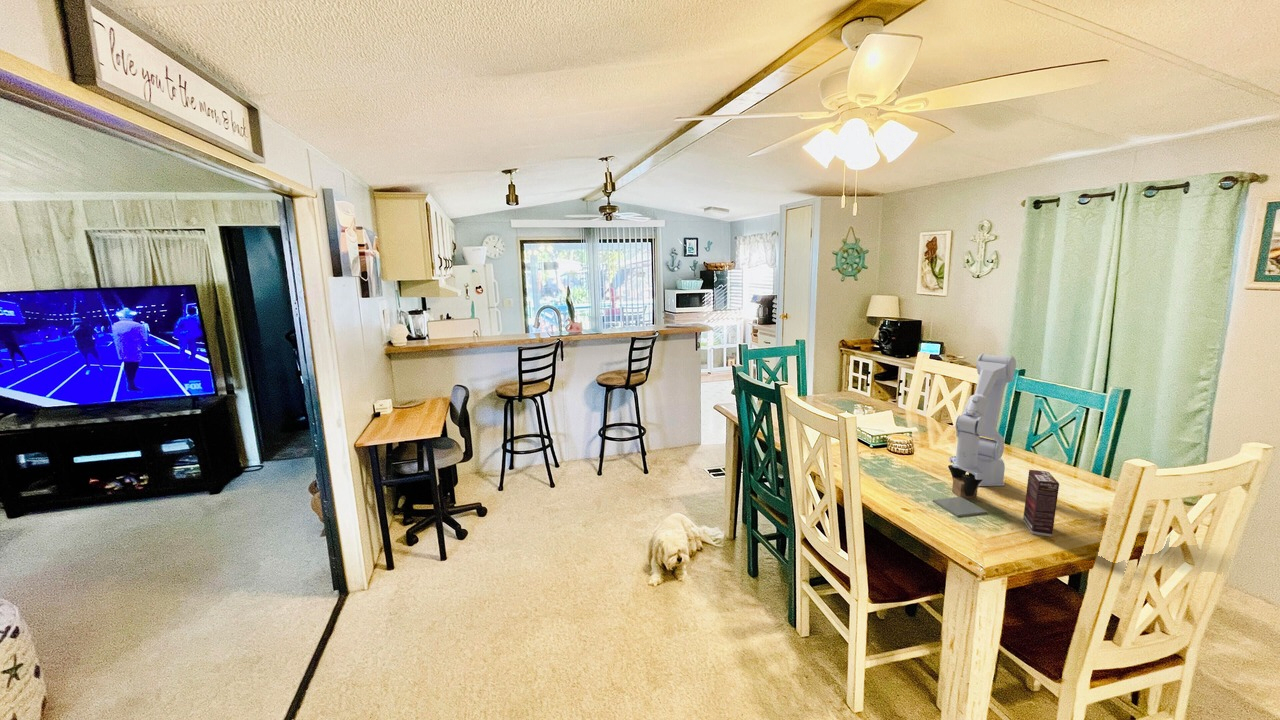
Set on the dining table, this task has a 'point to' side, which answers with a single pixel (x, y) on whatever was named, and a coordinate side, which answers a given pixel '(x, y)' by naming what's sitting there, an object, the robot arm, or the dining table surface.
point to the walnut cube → (961, 488)
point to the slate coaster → (959, 506)
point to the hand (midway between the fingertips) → (963, 491)
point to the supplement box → (1040, 502)
